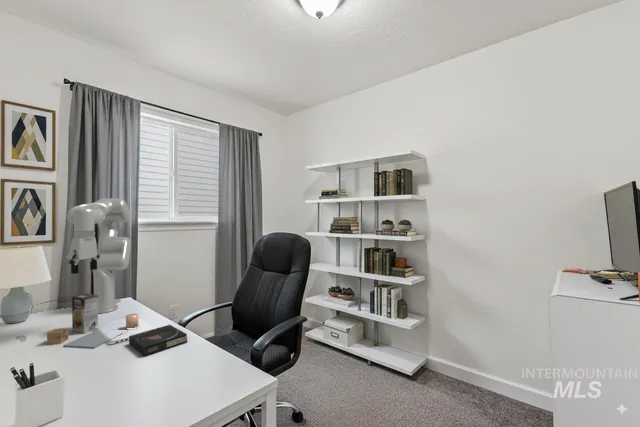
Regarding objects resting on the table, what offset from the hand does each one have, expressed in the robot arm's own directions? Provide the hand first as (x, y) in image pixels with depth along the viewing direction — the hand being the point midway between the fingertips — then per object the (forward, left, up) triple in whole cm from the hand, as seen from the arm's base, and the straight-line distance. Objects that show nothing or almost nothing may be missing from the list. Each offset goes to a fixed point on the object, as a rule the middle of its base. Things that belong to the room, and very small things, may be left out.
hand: (84, 271), depth 140 cm
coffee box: (0, 0, -28) cm, 28 cm away
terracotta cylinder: (-5, +20, -28) cm, 34 cm away
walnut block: (+13, 0, -28) cm, 30 cm away
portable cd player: (+9, +44, -28) cm, 53 cm away
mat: (+8, +14, -28) cm, 32 cm away
